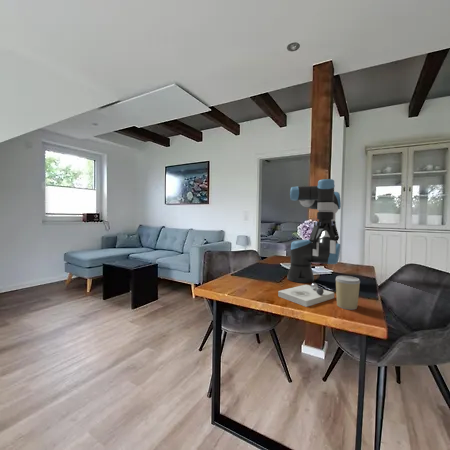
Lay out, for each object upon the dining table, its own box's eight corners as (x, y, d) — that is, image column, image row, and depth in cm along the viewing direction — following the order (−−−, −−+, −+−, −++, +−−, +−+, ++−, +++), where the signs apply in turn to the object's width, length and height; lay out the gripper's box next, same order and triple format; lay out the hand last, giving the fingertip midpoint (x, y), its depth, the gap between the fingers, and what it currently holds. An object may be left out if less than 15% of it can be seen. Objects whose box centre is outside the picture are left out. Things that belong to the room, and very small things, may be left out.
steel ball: (313, 288, 124) (313, 281, 124) (319, 290, 122) (319, 283, 122) (309, 289, 123) (309, 282, 122) (314, 291, 120) (315, 284, 120)
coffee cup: (351, 302, 113) (352, 275, 112) (364, 310, 103) (365, 281, 103) (331, 302, 112) (331, 275, 112) (341, 310, 103) (342, 281, 102)
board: (305, 289, 131) (305, 284, 131) (334, 298, 118) (334, 292, 118) (278, 296, 120) (278, 291, 120) (306, 306, 107) (306, 301, 107)
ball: (319, 293, 117) (319, 286, 117) (324, 294, 115) (325, 288, 114) (315, 294, 115) (315, 287, 115) (320, 296, 113) (320, 289, 113)
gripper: (333, 211, 135) (332, 251, 136) (302, 211, 121) (301, 255, 122) (347, 211, 128) (346, 253, 129) (315, 211, 115) (314, 258, 116)
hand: (324, 254), depth 126 cm, fingers open, 13 cm apart
